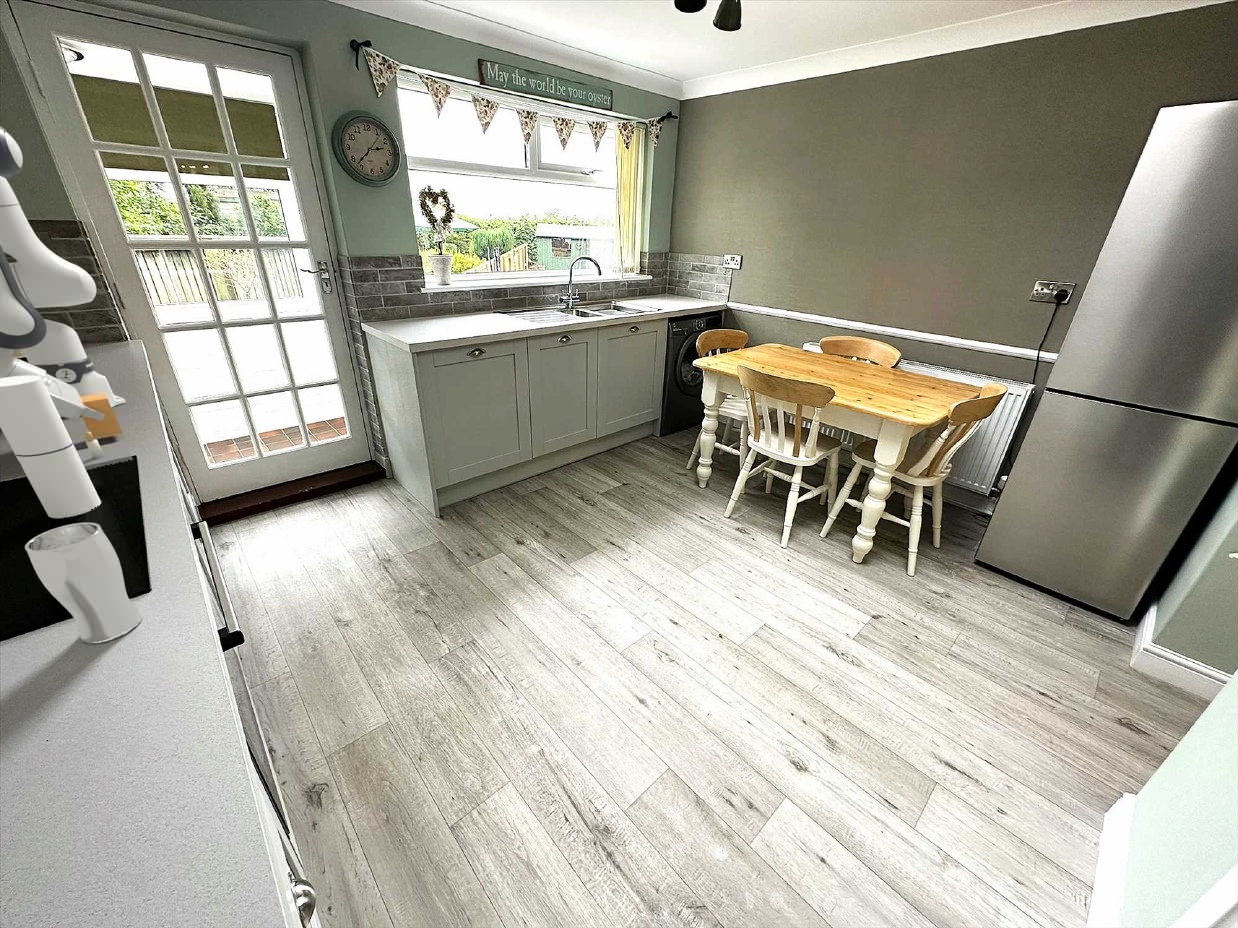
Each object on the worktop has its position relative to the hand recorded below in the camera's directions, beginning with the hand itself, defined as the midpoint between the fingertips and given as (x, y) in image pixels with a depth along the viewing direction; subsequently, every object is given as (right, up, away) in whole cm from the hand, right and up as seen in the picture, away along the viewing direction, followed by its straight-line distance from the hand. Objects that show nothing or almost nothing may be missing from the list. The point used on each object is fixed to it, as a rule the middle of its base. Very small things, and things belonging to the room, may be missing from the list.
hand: (101, 413), depth 121 cm
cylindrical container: (+23, -21, -27) cm, 41 cm away
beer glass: (+58, -35, -54) cm, 86 cm away
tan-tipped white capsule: (+9, -12, -9) cm, 17 cm away
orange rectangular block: (-1, -5, +2) cm, 5 cm away
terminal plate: (+8, -11, -8) cm, 15 cm away
